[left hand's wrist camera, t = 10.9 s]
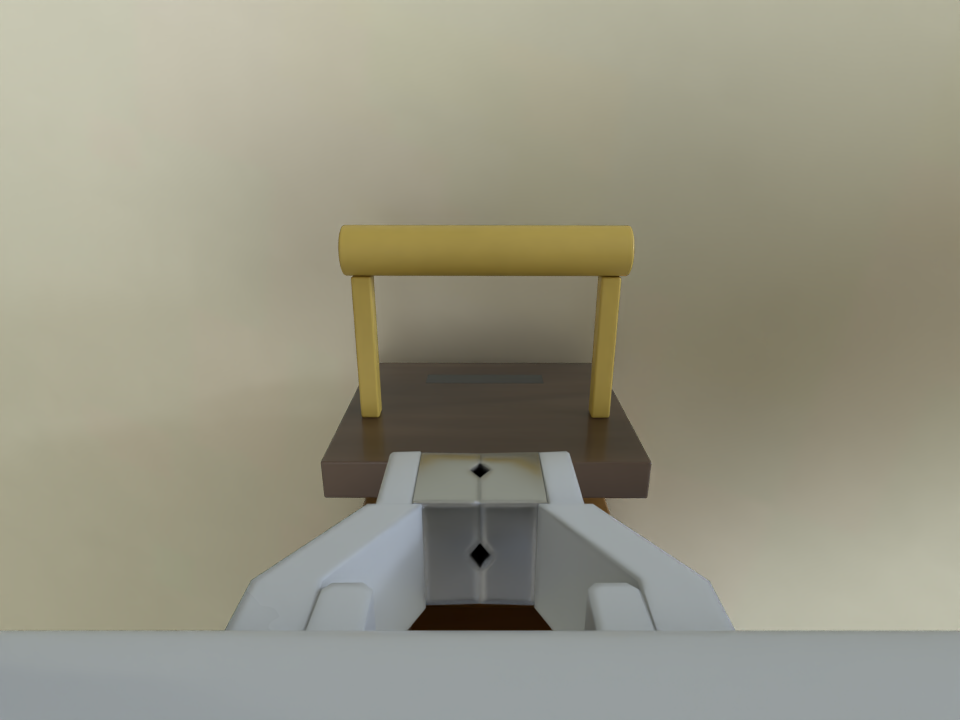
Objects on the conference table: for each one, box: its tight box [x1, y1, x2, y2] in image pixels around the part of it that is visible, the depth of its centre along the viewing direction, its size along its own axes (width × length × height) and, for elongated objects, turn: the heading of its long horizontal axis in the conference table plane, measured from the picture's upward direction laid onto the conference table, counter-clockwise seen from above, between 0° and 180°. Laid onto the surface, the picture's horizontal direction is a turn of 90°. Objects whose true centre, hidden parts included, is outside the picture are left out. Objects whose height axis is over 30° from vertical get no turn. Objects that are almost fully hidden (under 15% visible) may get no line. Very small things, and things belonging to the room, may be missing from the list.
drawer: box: [321, 225, 651, 631], centre depth 21 cm, size 18×9×8 cm, turn 0°
